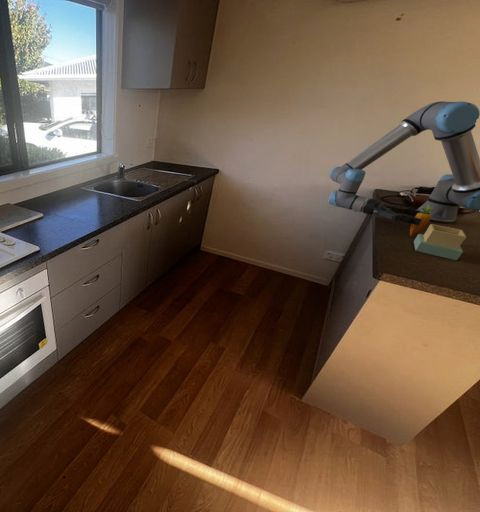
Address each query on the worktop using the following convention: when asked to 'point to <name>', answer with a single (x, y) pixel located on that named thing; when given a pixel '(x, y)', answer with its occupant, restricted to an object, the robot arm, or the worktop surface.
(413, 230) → the carrot
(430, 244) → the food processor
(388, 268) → the worktop surface
